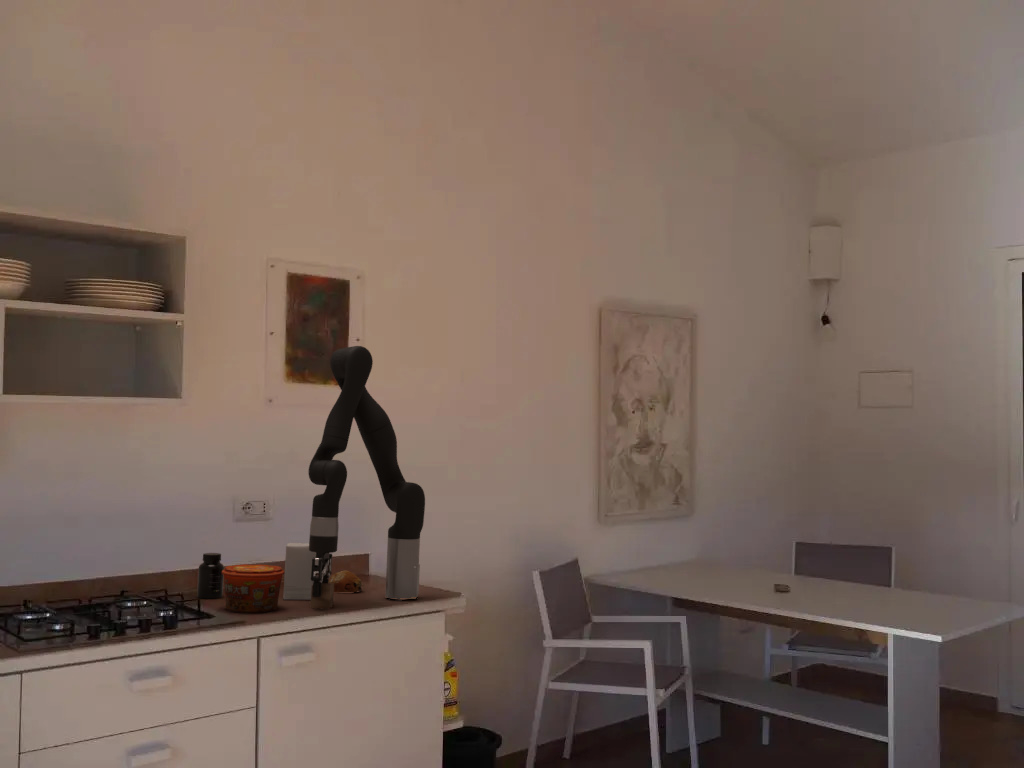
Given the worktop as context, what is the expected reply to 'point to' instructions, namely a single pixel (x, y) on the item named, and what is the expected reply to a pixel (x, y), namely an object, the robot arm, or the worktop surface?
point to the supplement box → (298, 572)
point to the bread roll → (345, 582)
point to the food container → (252, 587)
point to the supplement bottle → (210, 577)
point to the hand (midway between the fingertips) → (320, 594)
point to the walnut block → (323, 597)
